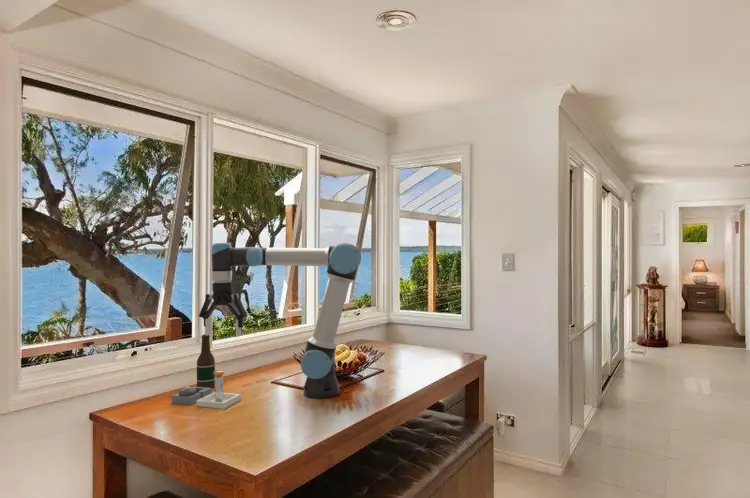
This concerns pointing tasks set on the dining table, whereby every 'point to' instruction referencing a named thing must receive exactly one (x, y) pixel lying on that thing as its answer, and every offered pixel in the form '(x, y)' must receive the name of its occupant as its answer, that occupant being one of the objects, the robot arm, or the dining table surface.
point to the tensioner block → (190, 395)
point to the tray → (227, 400)
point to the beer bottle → (205, 365)
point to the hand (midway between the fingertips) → (223, 335)
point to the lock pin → (219, 385)
